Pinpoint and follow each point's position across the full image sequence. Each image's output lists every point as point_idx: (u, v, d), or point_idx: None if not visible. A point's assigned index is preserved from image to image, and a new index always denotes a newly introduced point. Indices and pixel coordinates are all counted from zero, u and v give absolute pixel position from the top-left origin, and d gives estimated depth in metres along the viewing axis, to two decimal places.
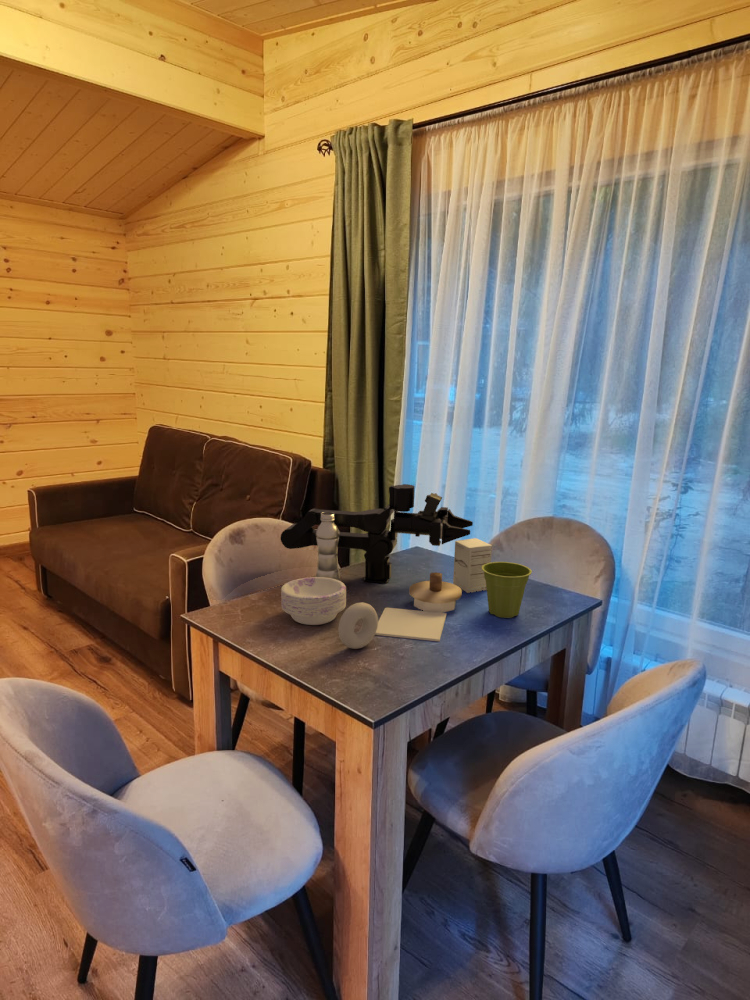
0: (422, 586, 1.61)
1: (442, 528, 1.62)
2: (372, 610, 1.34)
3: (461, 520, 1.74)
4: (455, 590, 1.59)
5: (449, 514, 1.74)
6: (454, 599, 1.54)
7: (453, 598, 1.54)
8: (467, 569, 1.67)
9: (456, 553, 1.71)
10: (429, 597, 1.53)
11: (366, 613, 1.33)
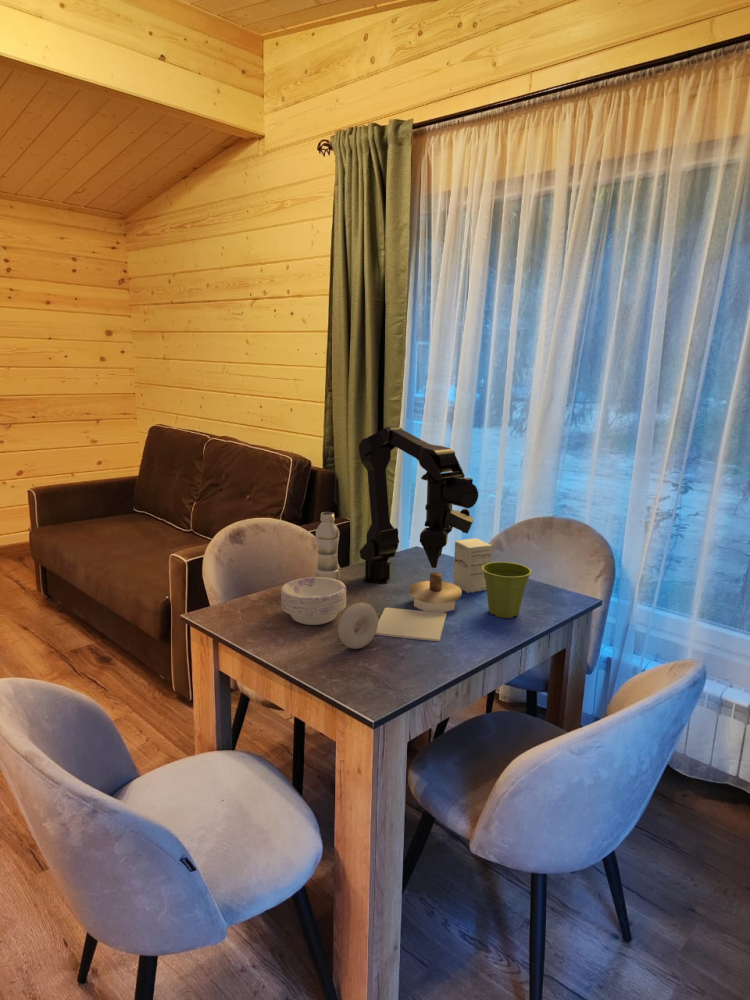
0: (422, 586, 1.61)
1: (439, 544, 1.48)
2: (372, 610, 1.34)
3: None
4: (455, 590, 1.59)
5: (447, 531, 1.60)
6: (454, 599, 1.54)
7: (453, 598, 1.54)
8: (467, 569, 1.67)
9: (456, 553, 1.71)
10: (429, 597, 1.53)
11: (366, 613, 1.33)
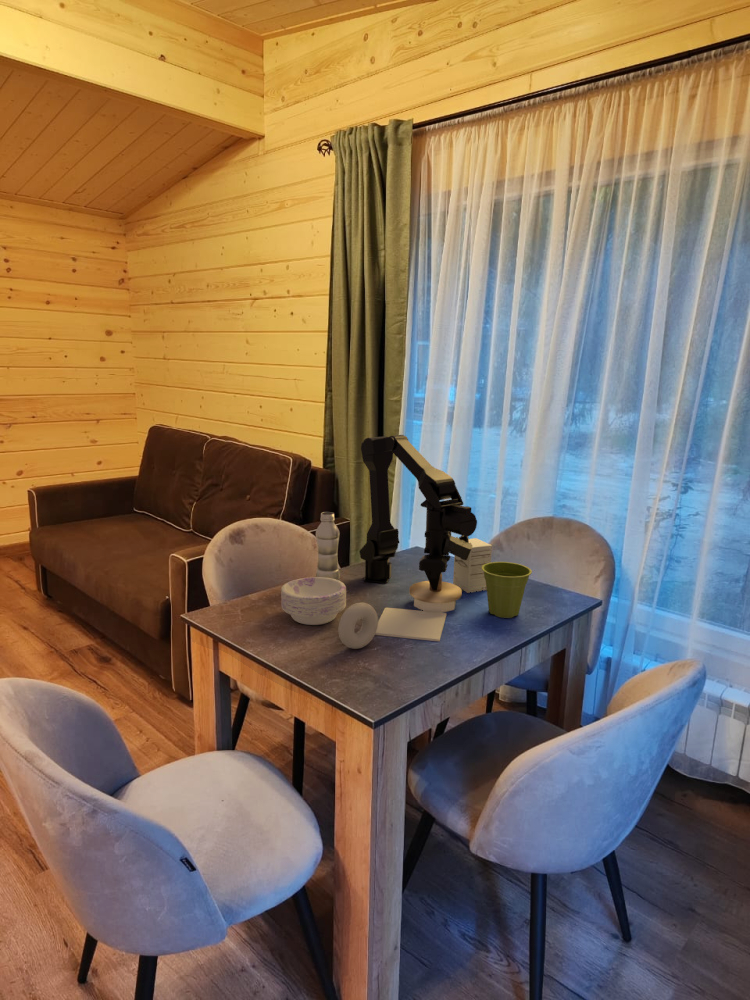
0: (422, 586, 1.61)
1: None
2: (372, 610, 1.34)
3: None
4: (455, 590, 1.59)
5: None
6: (454, 599, 1.54)
7: (453, 598, 1.54)
8: (467, 569, 1.67)
9: None
10: (429, 597, 1.53)
11: (366, 613, 1.33)
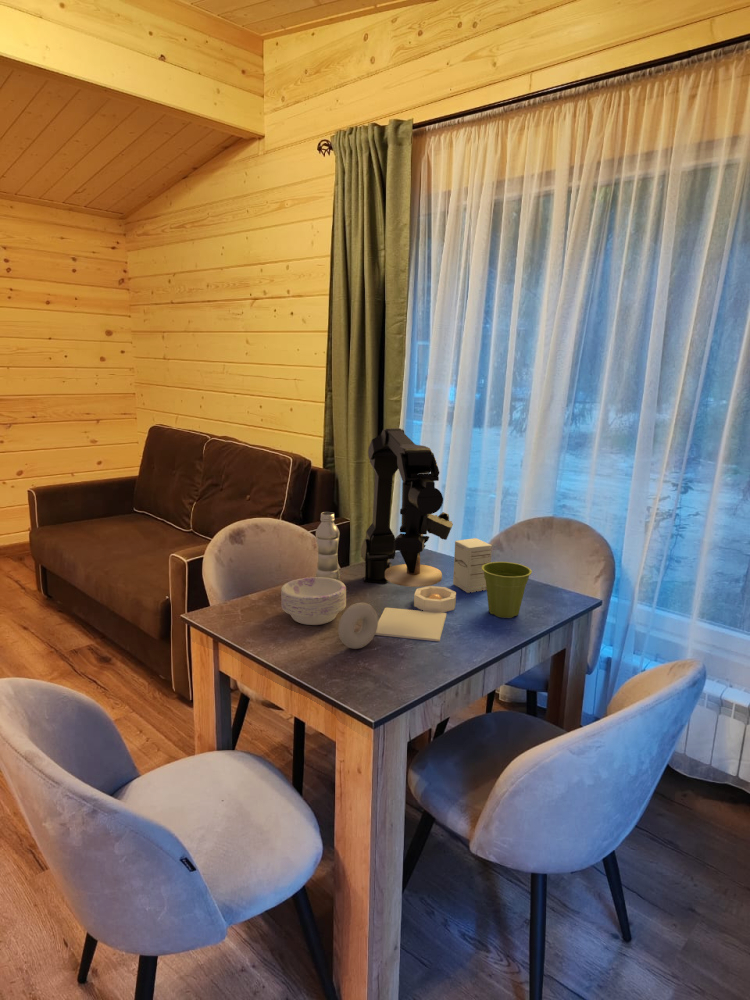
0: (398, 569, 1.47)
1: None
2: (372, 610, 1.34)
3: None
4: (435, 573, 1.45)
5: (423, 541, 1.45)
6: (433, 582, 1.40)
7: (432, 581, 1.40)
8: (467, 569, 1.67)
9: (456, 553, 1.71)
10: (405, 580, 1.40)
11: (366, 613, 1.33)
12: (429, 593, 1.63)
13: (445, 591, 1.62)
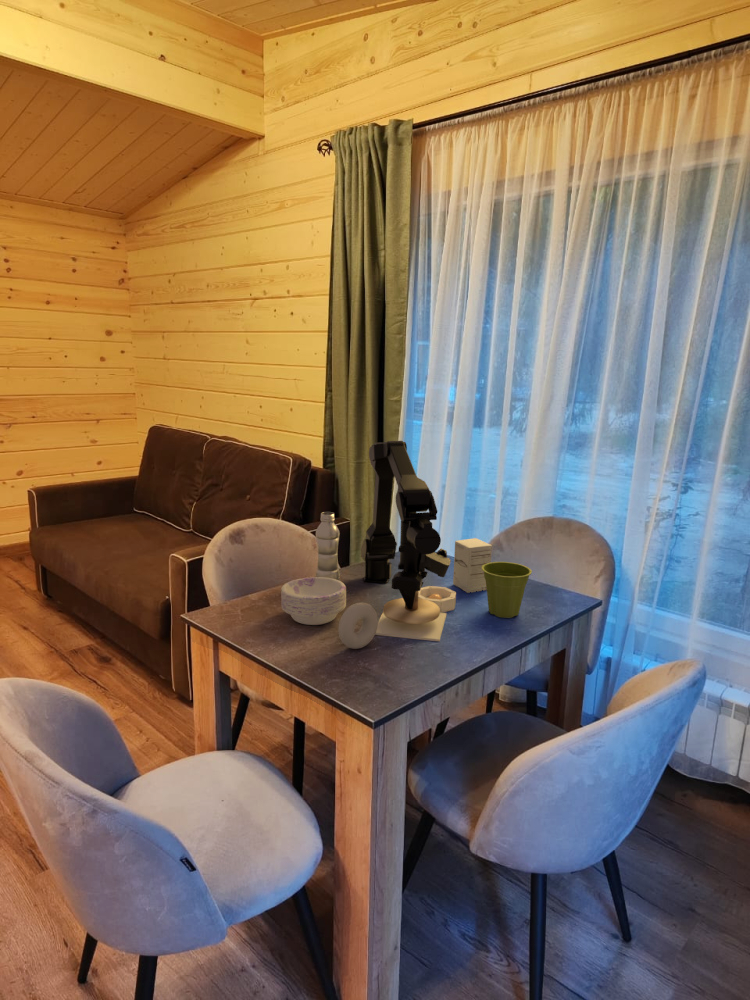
0: (397, 604, 1.49)
1: None
2: (372, 610, 1.34)
3: None
4: (433, 608, 1.47)
5: (422, 577, 1.47)
6: (431, 619, 1.42)
7: (430, 618, 1.42)
8: (467, 569, 1.67)
9: (456, 553, 1.71)
10: (404, 617, 1.41)
11: (366, 613, 1.33)
12: (429, 593, 1.63)
13: (445, 591, 1.62)
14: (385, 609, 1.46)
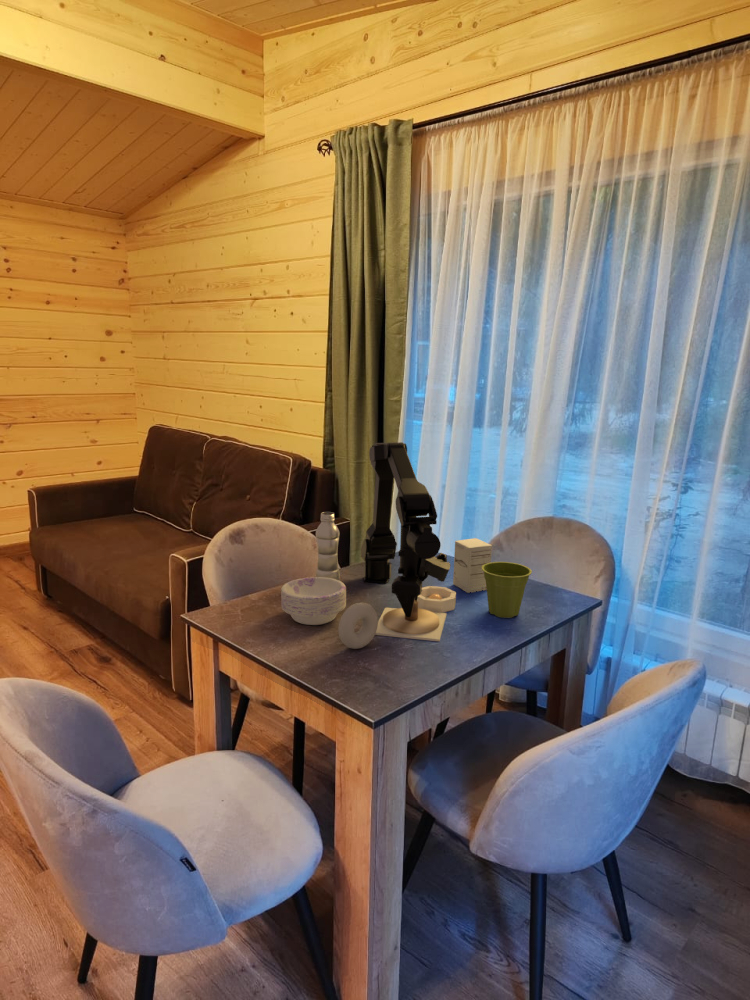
0: (397, 614, 1.49)
1: None
2: (372, 610, 1.34)
3: None
4: (433, 618, 1.47)
5: (423, 578, 1.49)
6: (430, 630, 1.43)
7: (429, 629, 1.42)
8: (467, 569, 1.67)
9: (456, 553, 1.71)
10: (403, 628, 1.42)
11: (366, 613, 1.33)
12: (429, 593, 1.63)
13: (445, 591, 1.62)
14: (385, 619, 1.46)
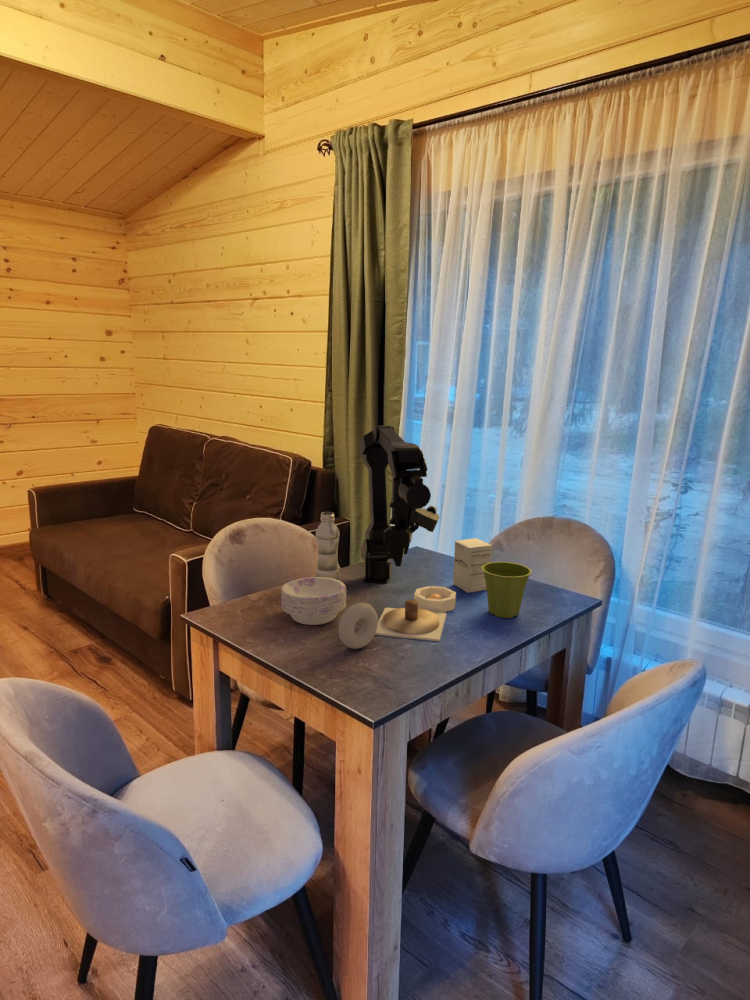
0: (397, 614, 1.49)
1: (402, 543, 1.45)
2: (372, 610, 1.34)
3: None
4: (433, 618, 1.47)
5: (414, 529, 1.58)
6: (430, 630, 1.43)
7: (429, 628, 1.42)
8: (467, 569, 1.67)
9: (456, 553, 1.71)
10: (403, 627, 1.42)
11: (366, 613, 1.33)
12: (429, 593, 1.63)
13: (445, 591, 1.62)
14: (385, 619, 1.46)
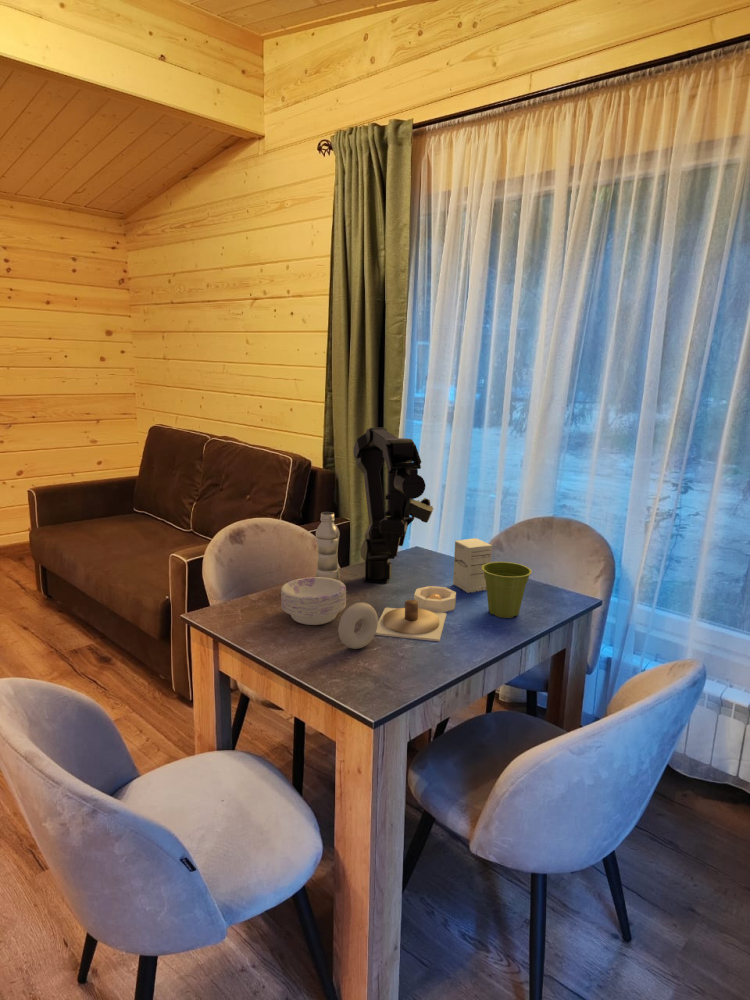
0: (397, 614, 1.49)
1: (397, 533, 1.50)
2: (372, 610, 1.34)
3: (403, 534, 1.63)
4: (433, 618, 1.47)
5: (409, 521, 1.63)
6: (430, 630, 1.43)
7: (429, 629, 1.42)
8: (467, 569, 1.67)
9: (456, 553, 1.71)
10: (403, 628, 1.42)
11: (366, 613, 1.33)
12: (429, 593, 1.63)
13: (445, 591, 1.62)
14: (385, 619, 1.46)
